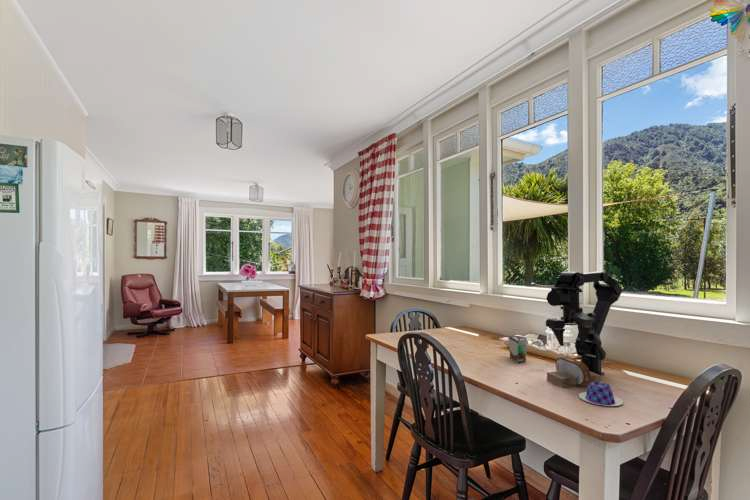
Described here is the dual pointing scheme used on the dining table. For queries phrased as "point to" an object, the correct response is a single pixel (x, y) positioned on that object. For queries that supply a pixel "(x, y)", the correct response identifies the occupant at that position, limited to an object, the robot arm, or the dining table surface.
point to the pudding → (600, 394)
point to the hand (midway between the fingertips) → (572, 345)
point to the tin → (574, 369)
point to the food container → (518, 348)
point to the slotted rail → (568, 378)
